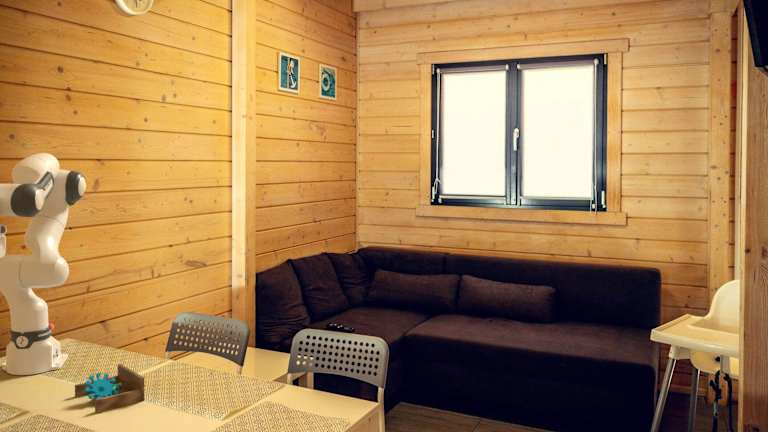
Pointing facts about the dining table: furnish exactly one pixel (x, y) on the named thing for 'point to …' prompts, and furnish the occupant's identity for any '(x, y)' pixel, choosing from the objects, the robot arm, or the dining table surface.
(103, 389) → the teal round spiked piece
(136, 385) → the bay
